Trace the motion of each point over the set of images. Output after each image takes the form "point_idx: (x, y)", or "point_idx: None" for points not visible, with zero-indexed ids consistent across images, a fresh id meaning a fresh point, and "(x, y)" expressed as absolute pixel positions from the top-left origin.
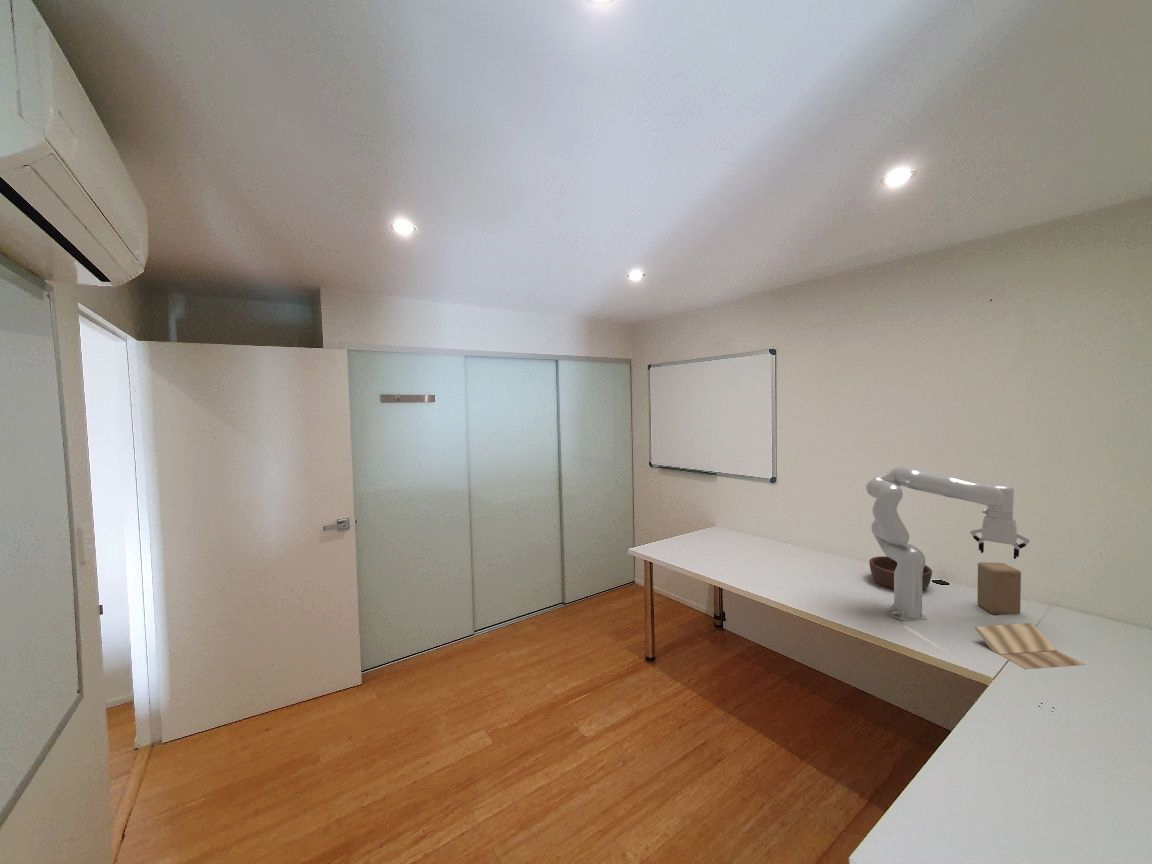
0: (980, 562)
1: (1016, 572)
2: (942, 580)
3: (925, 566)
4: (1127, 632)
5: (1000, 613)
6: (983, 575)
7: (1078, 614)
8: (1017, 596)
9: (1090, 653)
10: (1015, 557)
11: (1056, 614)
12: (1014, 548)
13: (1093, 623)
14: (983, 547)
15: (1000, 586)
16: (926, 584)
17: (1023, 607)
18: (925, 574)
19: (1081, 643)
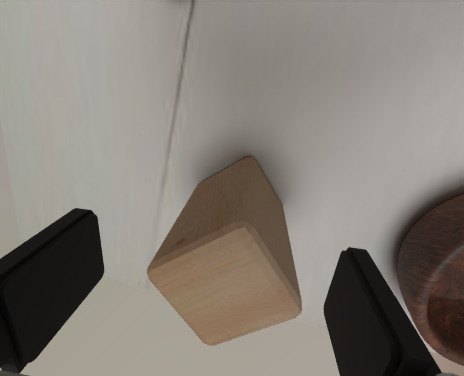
0: (293, 313)
1: (161, 260)
2: None
3: (429, 328)
4: (35, 219)
5: (236, 162)
6: (280, 246)
7: (105, 266)
8: (188, 205)
9: (66, 28)
10: (71, 214)
11: (136, 244)
12: (13, 336)
13: None
14: (349, 329)
15: (228, 196)
16: (421, 233)
17: None
18: (456, 248)
19: (86, 89)
